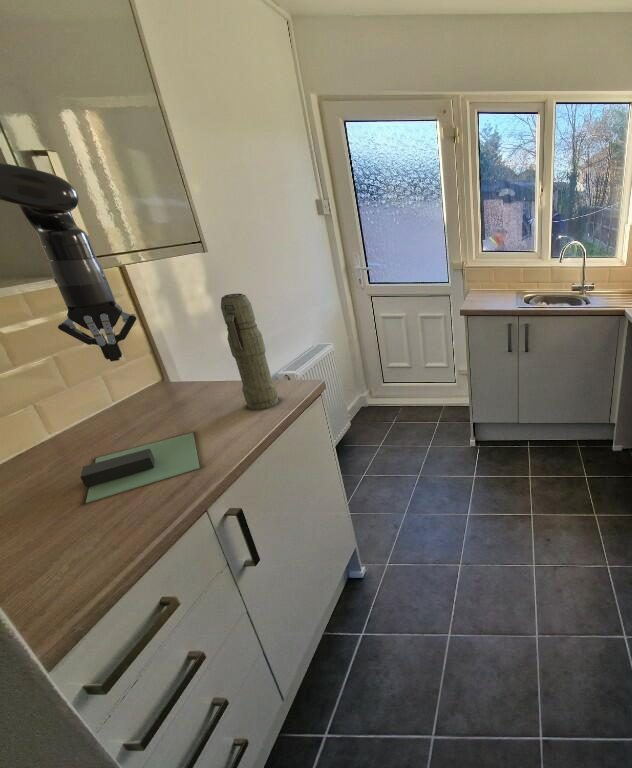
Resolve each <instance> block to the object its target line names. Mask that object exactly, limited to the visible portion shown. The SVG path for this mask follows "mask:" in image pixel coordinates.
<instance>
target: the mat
mask: <svg viewBox="0 0 632 768" xmlns="http://www.w3.org/2000/svg"><path fill="white" fill-rule="evenodd" d="M146 449H150V450H151V452H152V454H153V457H154V468H152V469H149V470H145V471H142V472H138V473H135V474H132V475H128V476H125V477H121V478H118V479H114V480H111V481H108V482H104V483H101V484H97V485H94V486H90V487H88V491H87V496H86V499H85V504H89V503H92V502H96V501H99V500H102V499H105V498H109V497H111V496H116V495H118V494H121V493H124V492H128V491H132V490H134V489H137V488H140V487H144V486H148V485H151V484H154V483H157V482H161V481H164V480H168V479H170V478H173V477H177V476H180V475H183V474H187V473H189V472H193V471H196V470H199V469H201V467H200V461H199V456H198V451H197V445H196V440H195V434H194V432H189V433H186V434H182V435H178V436H175V437H170V438H166V439H162V440H160V441H156V442H152V443H147V444H144V445H140V446H137V447H133V448H129V449H126V450H125V449H124V450H122V451H118V452H114V453H110V454H106V455H103V456H98V457H96V458H95V461H94V463H98V462H101V461H105V460H109V459H112V458H116V457H120V456H124V455H127V454H131V453H135V452H138V451H142V450H146Z"/></svg>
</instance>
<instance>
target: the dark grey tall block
mask: <svg viewBox="0 0 632 768" xmlns="http://www.w3.org/2000/svg"><path fill="white" fill-rule="evenodd" d="M152 468H154V457H153V454H152V452H151V450H150V449H146V450H142V451H138V452H135V453H131V454H127V455H124V456H120V457H116V458H112V459H109V460H105V461H101V462H98V463H95V462H93V463H90V464H87V465H84V466H82V469H81V472H80V473H81V474H80V479H81V481H82V483H83V485H84V487H85V488H86V489H87V488H89V487H90V486H94V485H97V484H101V483H104V482H108V481H111V480H114V479H118V478H121V477H125V476H128V475H132V474H135V473H138V472H142V471H145V470H149V469H152Z"/></svg>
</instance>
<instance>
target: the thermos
mask: <svg viewBox="0 0 632 768" xmlns="http://www.w3.org/2000/svg"><path fill="white" fill-rule="evenodd" d="M220 310H221V313H222V314H221V315H222V317H223V320H224V323H225V325H226V331H227V342H228V347H229V349H230V352H231V355H232V357H233V359H234V360H235V362H236V366H237V371H238V373H239V376H240V379H241V383H242V394H243V397H244V400H245V403H246V404H247V408H248V410H251V411H261V410H266V409H269V408H272V407H274V406H276V405H277V404H278V403H279V402H280V400H279V398H278V390H277V387H276V383H275V381H274V380H273V379H272V375H271V373H270V368H269V364H268V361H267V356H266V346H265V343H264V339H263V335H262V332H261V330H260V329H259V328H258V324H257V323H256V317H255V313H254V308H253V305H252V303H251V301H250V299H249V298H248V296H247V295H246V294H243V293H229V294H225V295H223V296H222V297H221V298H220Z"/></svg>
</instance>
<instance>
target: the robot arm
mask: <svg viewBox="0 0 632 768" xmlns="http://www.w3.org/2000/svg"><path fill="white" fill-rule="evenodd" d="M0 201H1V202H4V203H10V204H15V205H18V207H19V209H20V211H21V212H22V214H23V216H24V217H25V219H26V220H27V222H28V223H29V225H30V227H32V229H33V231H34V232H35V233H36V235H37V236H38V240H39V242H40V246H41V247H42V249H43V252H44V254H45V257H46V258H47V261H48V264H49V267H50V271H51V274H52V276H53V281H54V283H55V284H56V286H57V288H58V290H59V292H60V294H61V297H62V299H63V301H64V303H65V306H66V308H67V313H66V316H67V317H66V318H65V320H64V321H62V322H60V323H59V324H58V326H57V329H58V330H60V331H61V332H63V333H64V334H65V333H66V334H67V335H69V336H70V337H73V338H74V339H77V340H79V341H80V342H82V343H84V344H86V345H88V346H92V345H95V346H98V347H99V348H100V351H101V353H102V355H103V357H104V358H105V360H107V361H108V360H109V361H110V362H116V361H117V362H118V361H120V360H121V358H122V356H123V352H122V349H121V347H120V344H119V343H120V342H121V341H124V340H126V338H127V337H128V335H129V333H130V331H131V330H132V328H133V326H134V324H135V323H136V321H137V318H138V316H137V314H135V313H129V312H127V311H124V310H123V309H122V307H121V306H120V305H119V304H118V303H117V302H116V299H115V296H114V294H113V291H112V289H111V286H110V284H109V281H108V278H107V276H106V274H105V271H104V269H103V267H102V265H101V263H100V261H99V260H98V257H97V255H96V252H95V251H94V248H93V245H92V242H91V240H90V238H89V235H88V234H87V233H86V231H84V230H83V229H82V228H80V227H79V226H78V225H77V224H76V222H75V219H74V217H73V215H72V214H71V213H72V211H73V210H75V209H76V208H78V205H79V203H80V196H79V194H78V192H77V190H76V188H75V187H74V186H73V185H72V184H71V183H70V182H69V181H67V180H66V179H65V178H62V177H60V176H59V175H56V174H53V173H50V172H47V171H43V170H38V169H34V168H29V167H25V166H21V165H15V164H10V163H5V162H0ZM120 318H121V320H122V322H123V323H124V324H123V326H122V328H121V330H120V331H119V333H118V334H116V332H115V328H114V327H116V325H117V323H118V321H119V319H120ZM77 325H79V326H80V327H82V328H84V329H86V330H87V331H90V333H91V335H92V336H91V335H89V334H87V333H85V332H84V331H82V330H80V329H78V328H77ZM103 331H104V332H103ZM104 334H105V335H104ZM105 336H106V337H105Z"/></svg>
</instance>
